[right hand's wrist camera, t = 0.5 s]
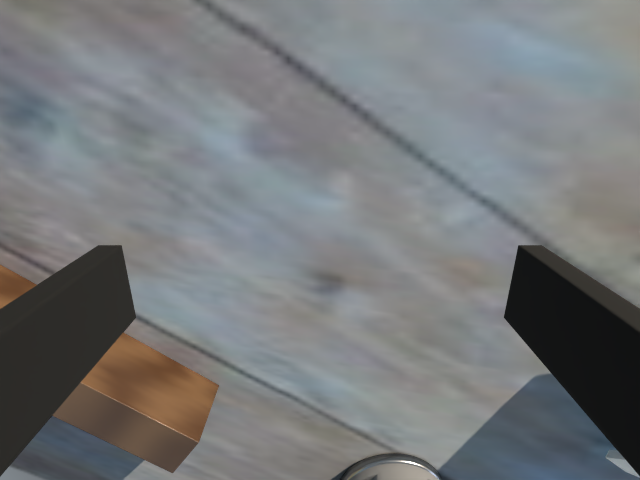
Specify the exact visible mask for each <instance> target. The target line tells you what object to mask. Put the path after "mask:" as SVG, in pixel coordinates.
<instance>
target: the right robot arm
mask: <svg viewBox="0 0 640 480" xmlns="http://www.w3.org/2000/svg"><path fill="white" fill-rule="evenodd" d="M135 318H136V315H135V310H134V305H133V300H132V295H131V290H130V285H129V280H128V275H127V270H126V265H125V260H124V255H123V250H122V245H98V246H97V247H95V248H94V249H92V250H91V251H89V252H87V253H86V254H84V255H83V256H81V257H80V258H78V259H77V260H75V261H74V262H72V263H70V264H69V265H67V266H66V267H64V268H63V269H61V270H60V271H58V272H57V273H55V274H53V275H52V276H50V277H49V278H47V279H46V280H44V281H43V282H41V283H40V284H38V285H36V286H35V287H33V288H32V289H30V290H29V291H27V292H26V293H24V294H23V295H21V296H19V297H18V298H16V299H15V300H13V301H12V302H10V303H9V304H7V305H6V306H4V307H2V308H1V309H0V476H1V475H2V474H3V473H4V471H5V470H6V469H7V468H8V467H9V466H10V464H11V463H12V462H13V461H14V460H15V459H16V457H17V456H18V455H19V454H20V453H21V452H22V450H23V449H24V448H25V447H26V446H27V445H28V443H29V442H30V441H31V440H32V439H33V438H34V436H35V435H36V434H37V433H38V432H39V430H40V429H41V428H42V427H43V426H44V425H45V423H46V422H47V421H48V420H49V419H50V418H51V416H52V415H53V414H54V413H55V412H56V411H57V409H58V408H59V407H60V406H61V405H62V404H63V402H64V401H65V400H66V399H67V398H68V397H69V395H70V394H71V393H72V392H73V391H74V390H75V388H76V387H77V386H78V385H79V384H80V382H81V381H82V380H83V379H84V378H85V377H86V375H87V374H88V373H89V372H90V371H91V370H92V368H93V367H94V366H95V365H96V364H97V363H98V361H99V360H100V359H101V358H102V357H103V356H104V354H105V353H106V352H107V351H108V350H109V349H110V347H111V346H112V345H113V344H114V343H115V342H116V340H117V339H118V338H119V337H120V336H121V334H122V333H123V332H124V331H125V330H126V329H127V327H128V326H129V325H130V324H131V323H132V322H133V320H134V319H135ZM504 318H505V319H506V320H507V322H508V323H509V324H510V325H511V326H512V327H513V329H514V330H515V331H516V332H517V333H518V334H519V336H520V337H521V338H522V339H523V340H524V342H525V343H526V344H527V345H528V346H529V347H530V349H531V350H532V351H533V352H534V353H535V354H536V356H537V357H538V358H539V359H540V360H541V361H542V363H543V364H544V365H545V366H546V367H547V368H548V370H549V371H550V372H551V373H552V374H553V375H554V377H555V378H556V379H557V380H558V381H559V382H560V384H561V385H562V386H563V387H564V388H565V390H566V391H567V392H568V393H569V394H570V395H571V397H572V398H573V399H574V400H575V401H576V402H577V404H578V405H579V406H580V407H581V408H582V409H583V411H584V412H585V413H586V414H587V415H588V416H589V418H590V419H591V420H592V421H593V422H594V423H595V425H596V426H597V427H598V428H599V429H600V430H601V432H602V433H603V434H604V435H605V436H606V438H607V439H608V440H609V441H610V442H611V443H612V445H613V446H614V447H615V448H616V449H617V450H618V452H619V453H620V454H621V455H622V456H623V457H624V459H625V460H626V461H627V462H628V463H629V464H630V466H631V467H632V468H633V469H634V470H635V471H636V473H637V474H638V475H639V476H640V309H639V308H638V307H636V306H634V305H633V304H631V303H630V302H628V301H627V300H625V299H624V298H622V297H621V296H619V295H617V294H616V293H614V292H613V291H611V290H610V289H608V288H607V287H605V286H604V285H602V284H600V283H599V282H597V281H596V280H594V279H593V278H591V277H590V276H588V275H587V274H585V273H583V272H582V271H580V270H579V269H577V268H576V267H574V266H573V265H571V264H570V263H568V262H566V261H565V260H563V259H562V258H560V257H559V256H557V255H556V254H554V253H553V252H551V251H549V250H548V249H546V248H545V247H543V246H542V245H518V250H517V255H516V260H515V265H514V270H513V275H512V280H511V285H510V290H509V295H508V300H507V305H506V310H505V315H504ZM340 480H442V479H441V477H440V475H439V473H438V472H437V470H436V469H435V468H434V467H433V466H432V465H430V464H429V463H427V462H426V461H424V460H422V459H420V458H417V457H414V456H410V455H405V454H382V455H376V456H372V457H369V458H367V459H364V460H362V461H360V462H358V463H356V464H355V465H353V466H352V467H351V468H349V469H348V470H347V471H346V472H345V473H344V475H343V476H342V478H341V479H340Z"/></svg>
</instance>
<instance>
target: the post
mask: <svg viewBox="0 0 640 480" xmlns="http://www.w3.org/2000/svg"><path fill="white" fill-rule="evenodd" d="M35 286H36V284H34V283H32V282H31V281H29V280H27V279H25V278H23V277H21V276H20V275H18V274H16V273H14V272H12V271H11V270H9V269H7V268H5V267H3V266H2V265H0V309H1V308H2V307H4V306H6V305H7V304H9V303H10V302H12V301H13V300H15V299H16V298H18V297H19V296H21V295H23V294H24V293H26V292H27V291H29V290H30V289H32V288H33V287H35ZM218 387H219V385H217V384H215V383H214V382H212V381H210V380H208V379H206V378H204V377H203V376H201V375H199V374H197V373H195V372H194V371H192V370H190V369H188V368H186V367H185V366H183V365H181V364H179V363H177V362H175V361H174V360H172V359H170V358H168V357H166V356H165V355H163V354H161V353H159V352H157V351H156V350H154V349H152V348H150V347H148V346H146V345H145V344H143V343H141V342H139V341H137V340H136V339H134V338H132V337H130V336H128V335H127V334H125V333H122V334H121V336H120V337H119V338H118V339H117V340H116V342H115V343H114V344H113V345H112V346H111V347H110V349H109V350H108V351H107V352H106V353H105V354H104V356H103V357H102V358H101V359H100V360H99V361H98V363H97V364H96V365H95V366H94V367H93V368H92V370H91V371H90V372H89V373H88V374H87V375H86V377H85V378H84V379H83V380H82V381H81V382H80V384H79V385H78V386H77V387H76V388H75V390H74V391H73V392H72V393H71V394H70V395H69V397H68V398H67V399H66V400H65V401H64V402H63V404H62V405H61V406H60V407H59V408H58V409H57V411H56V412H55V413H54V414H53V415H52V416H54V417H56V418H58V419H60V420H63V421H65V422H67V423H69V424H71V425H73V426H75V427H77V428H79V429H81V430H83V431H85V432H88V433H90V434H92V435H94V436H96V437H98V438H100V439H102V440H104V441H106V442H108V443H111V444H113V445H115V446H117V447H119V448H121V449H123V450H125V451H127V452H129V453H131V454H134V455H136V456H138V457H140V458H142V459H144V460H146V461H148V462H150V463H152V464H154V465H157V466H159V467H161V468H163V469H165V470H167V471H169V472H171V473H173V472H174V471H175V470H176V469H177V468H178V466H179V465H180V464H181V463H182V462H183V460H184V459H185V458H186V457H187V456H188V455H189V453H190V452H191V451H192V450H193V449H194V447H195V446H196V445H197V444H198V443H199V440H200V438H201V435H202V432H203V429H204V426H205V423H206V421H207V418H208V415H209V412H210V409H211V407H212V404H213V401H214V398H215V395H216V392H217V390H218Z"/></svg>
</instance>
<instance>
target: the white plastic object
mask: <svg viewBox="0 0 640 480" xmlns="http://www.w3.org/2000/svg"><path fill="white" fill-rule="evenodd" d="M605 458H607V459H608V460H610V461H611V462H612V463H614V464H615V465H617V466H618V467H619V468H621V469H622V470H624V471H625V472H627V473H630V474H632V475H634V476H637V477H639V478H640V476H639V475H638V474H637V473H636V471H635V470H634V469H633V468H632V467H631V466H630V464H629V463H628V462H627V461H626V460H625V459H624V457H623V456H622V455H621V454H620V453H619V452H618V450H609V451H608V453H607V455H606V457H605Z"/></svg>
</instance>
